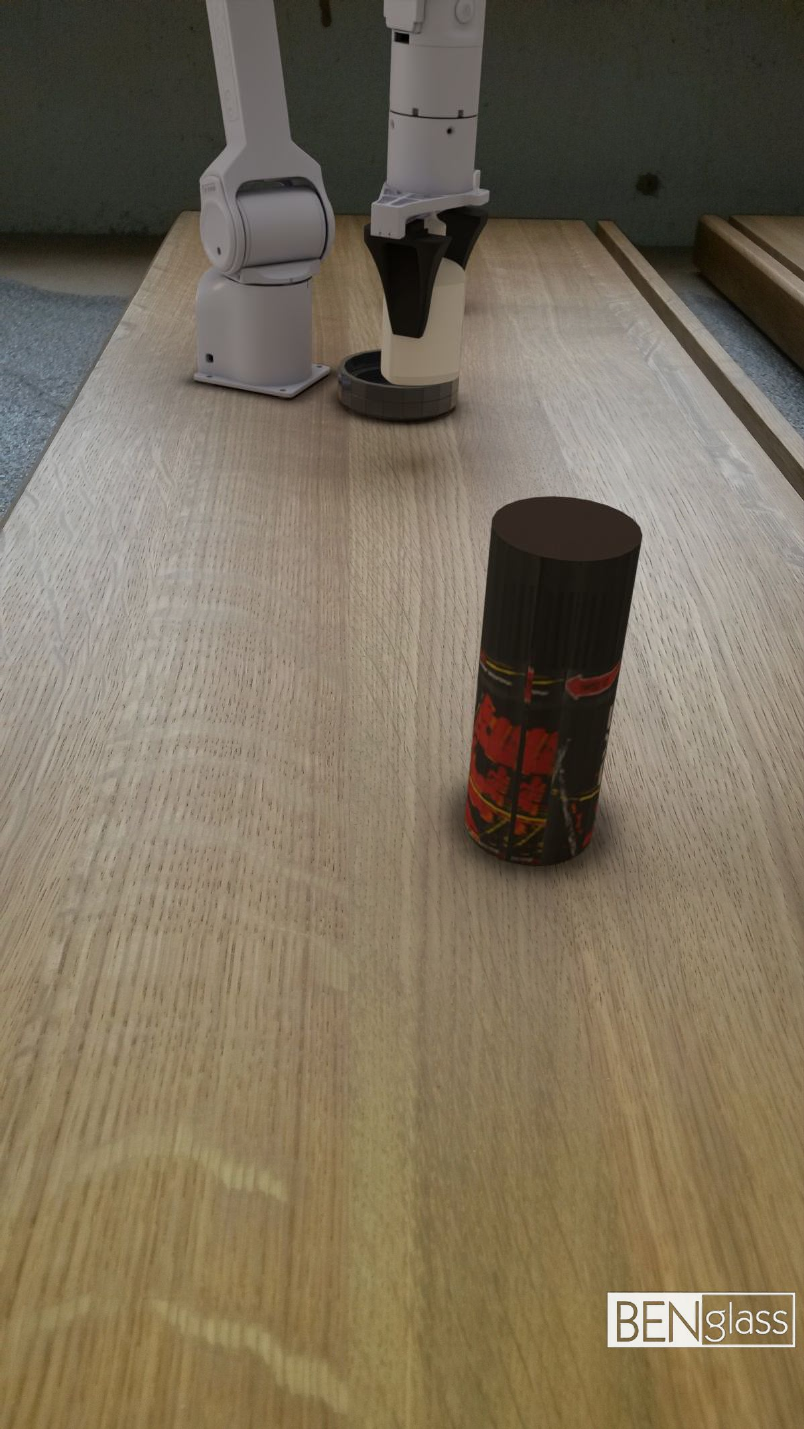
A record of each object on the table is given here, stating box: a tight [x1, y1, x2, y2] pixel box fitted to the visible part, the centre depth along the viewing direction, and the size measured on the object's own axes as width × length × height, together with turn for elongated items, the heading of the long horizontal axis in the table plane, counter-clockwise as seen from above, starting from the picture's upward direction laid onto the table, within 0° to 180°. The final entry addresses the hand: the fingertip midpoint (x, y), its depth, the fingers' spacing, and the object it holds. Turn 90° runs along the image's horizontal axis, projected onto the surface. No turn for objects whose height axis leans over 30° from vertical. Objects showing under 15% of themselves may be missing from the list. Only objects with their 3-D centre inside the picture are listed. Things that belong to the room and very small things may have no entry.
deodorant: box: [464, 495, 643, 866], centre depth 52 cm, size 6×6×15 cm
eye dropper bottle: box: [381, 211, 467, 386], centre depth 84 cm, size 4×6×12 cm
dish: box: [337, 348, 461, 422], centre depth 102 cm, size 10×10×3 cm
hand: (422, 325), depth 86 cm, fingers closed on eye dropper bottle, 5 cm apart
